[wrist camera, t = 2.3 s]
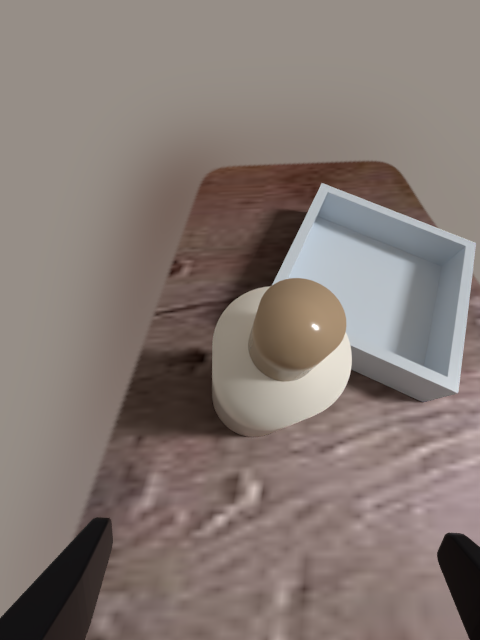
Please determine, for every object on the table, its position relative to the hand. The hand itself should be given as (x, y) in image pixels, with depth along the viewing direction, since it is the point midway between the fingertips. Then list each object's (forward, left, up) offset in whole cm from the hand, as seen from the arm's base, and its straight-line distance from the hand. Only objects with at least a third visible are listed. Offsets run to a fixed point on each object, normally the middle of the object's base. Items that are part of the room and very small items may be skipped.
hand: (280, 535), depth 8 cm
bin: (+18, -3, -12) cm, 22 cm away
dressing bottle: (+6, +2, -12) cm, 14 cm away
